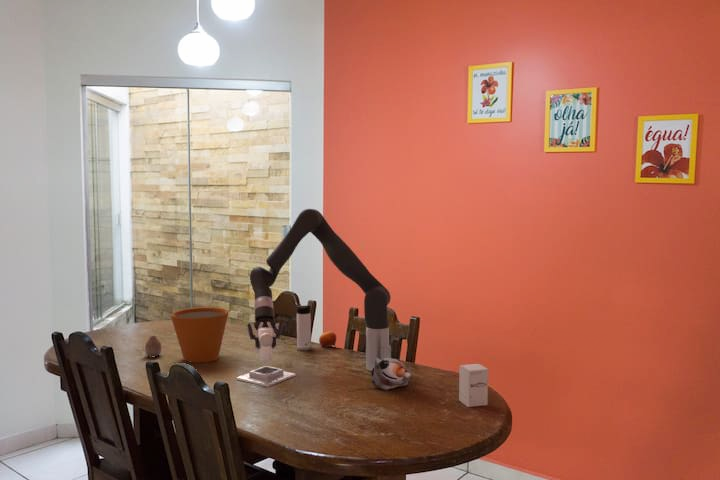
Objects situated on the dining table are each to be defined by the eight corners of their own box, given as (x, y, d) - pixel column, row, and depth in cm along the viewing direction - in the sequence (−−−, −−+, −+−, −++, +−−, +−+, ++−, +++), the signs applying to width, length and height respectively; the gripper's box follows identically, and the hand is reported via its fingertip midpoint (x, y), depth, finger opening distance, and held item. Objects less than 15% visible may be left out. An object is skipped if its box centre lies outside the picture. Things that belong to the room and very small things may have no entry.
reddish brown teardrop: (164, 354, 268) (163, 334, 268) (157, 358, 261) (157, 338, 261) (149, 353, 269) (148, 334, 268) (142, 358, 262) (141, 338, 261)
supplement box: (468, 408, 202) (468, 370, 200) (458, 400, 209) (458, 364, 208) (488, 405, 204) (488, 368, 202) (477, 398, 211) (478, 362, 210)
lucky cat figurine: (413, 381, 229) (419, 354, 221) (402, 403, 219) (408, 376, 212) (376, 367, 233) (381, 340, 225) (364, 387, 223) (368, 360, 216)
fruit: (332, 346, 275) (325, 330, 276) (320, 353, 279) (314, 337, 281) (343, 343, 281) (336, 327, 283) (332, 349, 285) (325, 333, 287)
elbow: (258, 357, 236) (258, 327, 235) (272, 357, 237) (271, 326, 236) (259, 364, 228) (259, 332, 226) (273, 363, 229) (273, 332, 228)
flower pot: (160, 361, 257) (158, 315, 255) (199, 348, 278) (198, 305, 276) (203, 369, 246) (201, 320, 244) (240, 355, 267) (239, 310, 265)
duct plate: (295, 375, 237) (295, 368, 237) (268, 386, 224) (268, 379, 223) (265, 369, 246) (264, 362, 245) (236, 379, 232) (236, 372, 232)
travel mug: (309, 351, 273) (308, 307, 271) (295, 350, 274) (294, 306, 272) (313, 347, 279) (312, 304, 277) (299, 346, 280) (298, 304, 278)
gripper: (245, 305, 238) (247, 343, 227) (282, 304, 241) (285, 341, 230) (245, 316, 244) (246, 353, 233) (281, 314, 247) (284, 351, 236)
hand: (266, 347), depth 232 cm, fingers closed on elbow, 5 cm apart
